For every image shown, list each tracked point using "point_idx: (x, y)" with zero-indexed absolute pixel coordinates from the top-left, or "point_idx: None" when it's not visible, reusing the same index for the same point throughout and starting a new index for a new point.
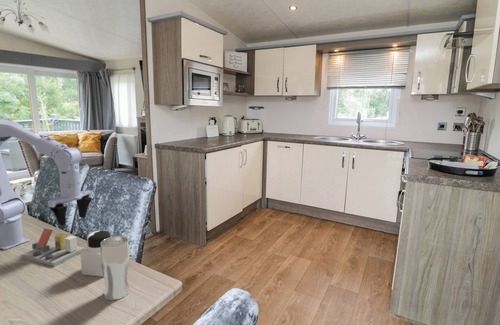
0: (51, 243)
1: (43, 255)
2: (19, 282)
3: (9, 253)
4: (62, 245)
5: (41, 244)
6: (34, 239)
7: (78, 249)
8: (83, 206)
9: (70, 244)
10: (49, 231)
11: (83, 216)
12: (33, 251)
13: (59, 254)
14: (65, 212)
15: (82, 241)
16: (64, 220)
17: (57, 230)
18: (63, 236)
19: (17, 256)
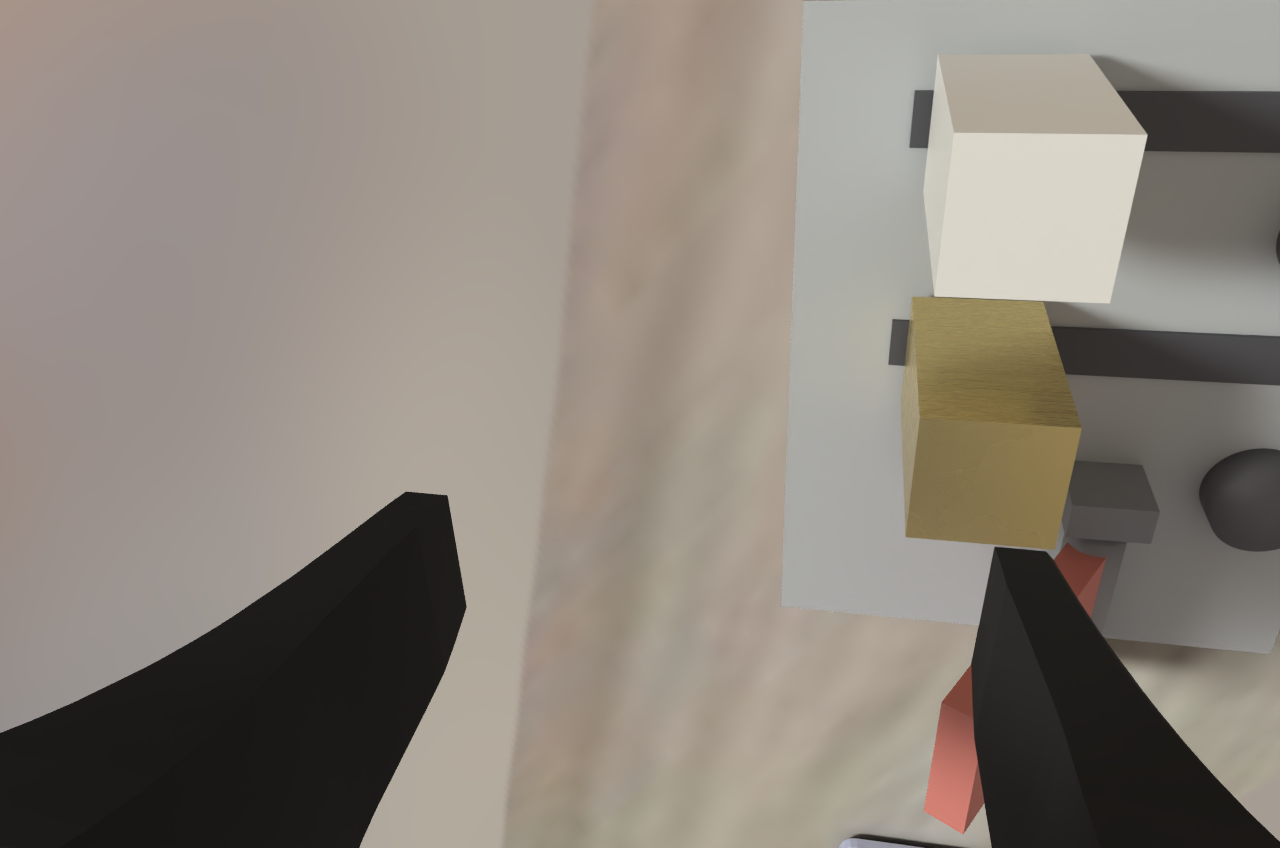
0: (877, 581)
1: (1255, 396)
2: None
3: None
4: (1012, 327)
5: (1088, 612)
6: (797, 817)
7: (914, 47)
8: (281, 749)
9: (1119, 96)
10: None
11: (434, 525)
12: (1161, 600)
13: (1175, 197)
14: (1114, 836)
15: (581, 314)
16: (1065, 630)
17: (524, 779)
18: (990, 415)
19: (1227, 687)
